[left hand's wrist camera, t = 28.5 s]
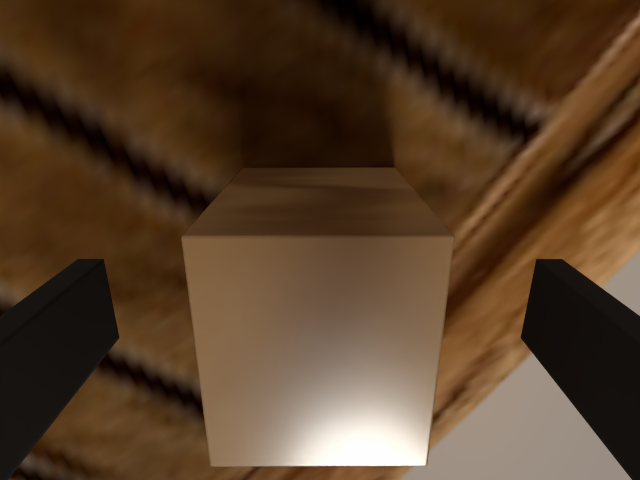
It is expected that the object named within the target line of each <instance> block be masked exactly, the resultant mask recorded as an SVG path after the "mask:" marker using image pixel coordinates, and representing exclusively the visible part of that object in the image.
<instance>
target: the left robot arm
mask: <svg viewBox="0 0 640 480" xmlns="http://www.w3.org/2000/svg"><path fill="white" fill-rule="evenodd" d="M118 339H119V334H118V329H117V324H116V319H115V314H114V309H113V304H112V299H111V294H110V289H109V284H108V279H107V274H106V269H105V264H104V259H78V260H76V261H75V262H73V263H72V264H71V265H69V266H68V267H67V268H65V269H64V270H63V271H61V272H60V273H58V274H57V275H56V276H54V277H53V278H52V279H50V280H49V281H48V282H46V283H45V284H43V285H42V286H41V287H39V288H38V289H37V290H35V291H34V292H33V293H31V294H30V295H28V296H27V297H26V298H24V299H23V300H22V301H20V302H19V303H18V304H16V305H15V306H13V307H12V308H11V309H9V310H8V311H7V312H5V313H4V314H3V315H1V316H0V480H8V479H9V478H10V476H11V475H12V474H13V473H14V471H15V470H16V469H17V468H18V466H19V465H20V464H21V462H22V461H23V460H24V459H25V457H26V456H27V455H28V454H29V452H30V451H31V450H32V448H33V447H34V446H35V445H36V443H37V442H38V441H39V439H40V438H41V437H42V436H43V434H44V433H45V432H46V431H47V429H48V428H49V427H50V425H51V424H52V423H53V422H54V420H55V419H56V418H57V417H58V415H59V414H60V413H61V411H62V410H63V409H64V408H65V406H66V405H67V404H68V402H69V401H70V400H71V399H72V397H73V396H74V395H75V394H76V392H77V391H78V390H79V388H80V387H81V386H82V385H83V383H84V382H85V381H86V380H87V378H88V377H89V376H90V374H91V373H92V372H93V371H94V369H95V368H96V367H97V366H98V364H99V363H100V362H101V360H102V359H103V358H104V357H105V355H106V354H107V353H108V351H109V350H110V349H111V348H112V346H113V345H114V344H115V343H116V341H117V340H118ZM521 339H522V340H523V341H524V343H525V344H526V345H527V346H528V348H529V349H530V350H531V351H532V353H533V354H534V355H535V357H536V358H537V359H538V360H539V362H540V363H541V364H542V365H543V367H544V368H545V369H546V370H547V372H548V373H549V374H550V376H551V377H552V378H553V379H554V381H555V382H556V383H557V385H558V386H559V387H560V388H561V390H562V391H563V392H564V394H565V395H566V396H567V397H568V399H569V400H570V401H571V402H572V404H573V405H574V406H575V408H576V409H577V410H578V411H579V413H580V414H581V415H582V417H583V418H584V419H585V420H586V422H587V423H588V424H589V425H590V427H591V428H592V429H593V431H594V432H595V433H596V434H597V436H598V437H599V438H600V439H601V441H602V442H603V443H604V445H605V446H606V447H607V448H608V450H609V451H610V452H611V453H612V455H613V456H614V457H615V459H616V460H617V461H618V462H619V464H620V465H621V466H622V467H623V469H624V470H625V471H626V473H627V474H628V475H629V476H630V478H631V479H632V480H640V316H639V315H637V314H636V313H635V312H633V311H632V310H631V309H629V308H628V307H627V306H625V305H624V304H622V303H621V302H620V301H618V300H617V299H616V298H614V297H613V296H612V295H610V294H609V293H607V292H606V291H605V290H603V289H602V288H601V287H599V286H598V285H597V284H595V283H594V282H592V281H591V280H590V279H588V278H587V277H586V276H584V275H583V274H582V273H580V272H579V271H577V270H576V269H575V268H573V267H572V266H571V265H569V264H568V263H567V262H565V261H564V260H562V259H536V264H535V269H534V274H533V279H532V284H531V289H530V294H529V299H528V304H527V309H526V314H525V319H524V324H523V329H522V334H521Z"/></svg>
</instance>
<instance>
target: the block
mask: <svg viewBox="0 0 640 480" xmlns="http://www.w3.org/2000/svg"><path fill="white" fill-rule="evenodd" d="M181 239H182V247H183V255H184V263H185V271H186V279H187V286H188V294H189V302H190V310H191V318H192V326H193V333H194V341H195V349H196V357H197V365H198V373H199V380H200V388H201V396H202V404H203V412H204V420H205V427H206V435H207V443H208V451H209V459H210V465H211V466H427V463H428V454H429V446H430V438H431V429H432V421H433V412H434V404H435V396H436V387H437V379H438V370H439V362H440V354H441V345H442V337H443V328H444V320H445V312H446V303H447V295H448V286H449V278H450V270H451V261H452V253H453V244H454V235H453V234H452V233H451V232H450V231H449V229H448V228H447V227H446V226H445V225H444V224H443V223H442V221H441V220H440V219H439V218H438V217H437V216H436V214H435V213H434V212H433V211H432V210H431V209H430V208H429V206H428V205H427V204H426V203H425V202H424V201H423V200H422V198H421V197H420V196H419V195H418V194H417V193H416V192H415V190H414V189H413V188H412V187H411V186H410V185H409V184H408V182H407V181H406V180H405V179H404V178H403V177H402V175H401V174H400V173H399V172H398V171H397V170H396V169H395V168H242V169H241V171H240V172H239V173H238V174H237V175H236V176H235V177H234V178H233V179H232V181H231V182H230V183H229V184H228V185H227V186H226V187H225V188H224V190H223V191H222V192H221V193H220V194H219V195H218V196H217V197H216V198H215V200H214V201H213V202H212V203H211V204H210V205H209V206H208V207H207V209H206V210H205V211H204V212H203V213H202V214H201V215H200V216H199V217H198V219H197V220H196V221H195V222H194V223H193V224H192V225H191V226H190V228H189V229H188V230H187V231H186V232H185V233H184V234H183V235H182V237H181Z"/></svg>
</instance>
